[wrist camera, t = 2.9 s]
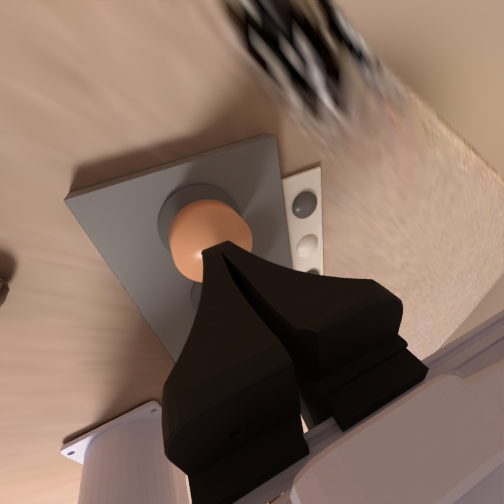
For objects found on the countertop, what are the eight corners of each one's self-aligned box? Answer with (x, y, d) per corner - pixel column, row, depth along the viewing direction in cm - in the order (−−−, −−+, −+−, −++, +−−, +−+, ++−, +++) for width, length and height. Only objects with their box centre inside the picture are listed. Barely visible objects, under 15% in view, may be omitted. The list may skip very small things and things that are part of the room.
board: (293, 323, 25) (301, 334, 24) (189, 375, 23) (192, 390, 22) (266, 133, 15) (278, 136, 13) (68, 192, 12) (62, 202, 11)
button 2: (241, 243, 16) (258, 264, 14) (181, 267, 15) (189, 293, 13) (226, 183, 13) (243, 198, 11) (153, 207, 13) (158, 229, 11)
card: (321, 288, 24) (324, 291, 24) (295, 301, 23) (298, 304, 23) (318, 166, 17) (322, 167, 17) (280, 179, 16) (283, 181, 16)
